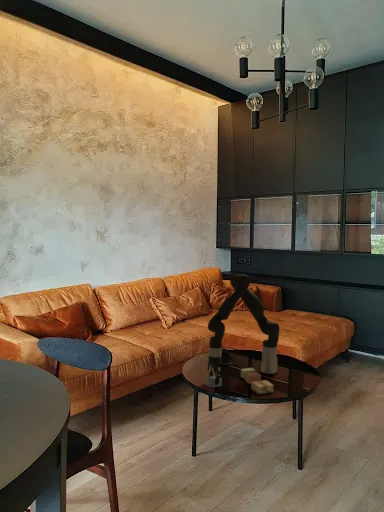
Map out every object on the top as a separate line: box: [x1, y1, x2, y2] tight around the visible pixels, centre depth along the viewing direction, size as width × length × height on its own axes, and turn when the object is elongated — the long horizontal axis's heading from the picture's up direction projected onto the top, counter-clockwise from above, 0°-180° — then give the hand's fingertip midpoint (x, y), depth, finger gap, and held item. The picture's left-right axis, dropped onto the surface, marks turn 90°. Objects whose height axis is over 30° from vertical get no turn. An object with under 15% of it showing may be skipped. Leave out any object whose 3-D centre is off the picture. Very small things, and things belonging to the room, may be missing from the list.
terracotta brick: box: [244, 371, 262, 385], centre depth 236 cm, size 8×4×5 cm, turn 107°
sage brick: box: [240, 367, 257, 380], centre depth 244 cm, size 8×4×5 cm, turn 113°
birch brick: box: [250, 379, 275, 395], centre depth 224 cm, size 10×8×4 cm
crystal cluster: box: [219, 348, 235, 366], centre depth 271 cm, size 13×14×10 cm
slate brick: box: [205, 375, 223, 388], centre depth 228 cm, size 8×4×5 cm, turn 108°
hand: (213, 381), depth 228 cm, fingers open, 8 cm apart
